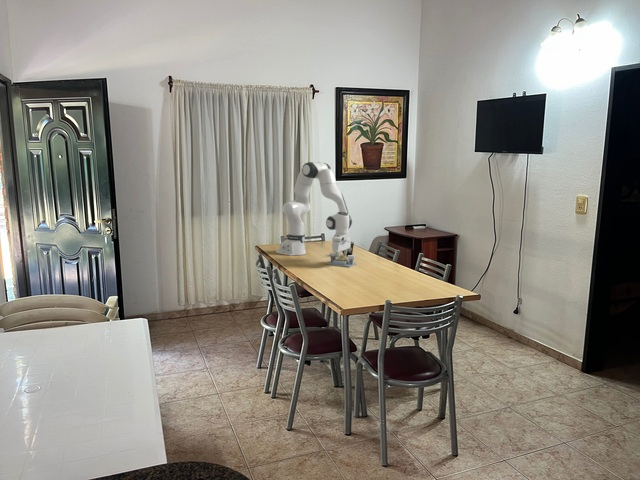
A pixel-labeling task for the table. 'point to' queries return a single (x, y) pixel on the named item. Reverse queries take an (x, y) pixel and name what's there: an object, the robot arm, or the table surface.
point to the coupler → (342, 258)
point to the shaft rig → (342, 263)
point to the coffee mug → (350, 249)
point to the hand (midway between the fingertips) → (341, 257)
